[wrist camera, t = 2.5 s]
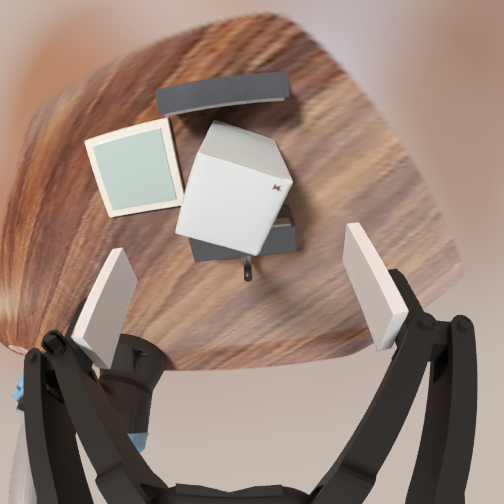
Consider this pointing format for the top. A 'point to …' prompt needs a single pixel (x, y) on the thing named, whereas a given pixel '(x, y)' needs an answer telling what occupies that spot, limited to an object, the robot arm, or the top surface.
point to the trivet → (137, 168)
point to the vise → (227, 94)
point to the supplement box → (234, 189)
